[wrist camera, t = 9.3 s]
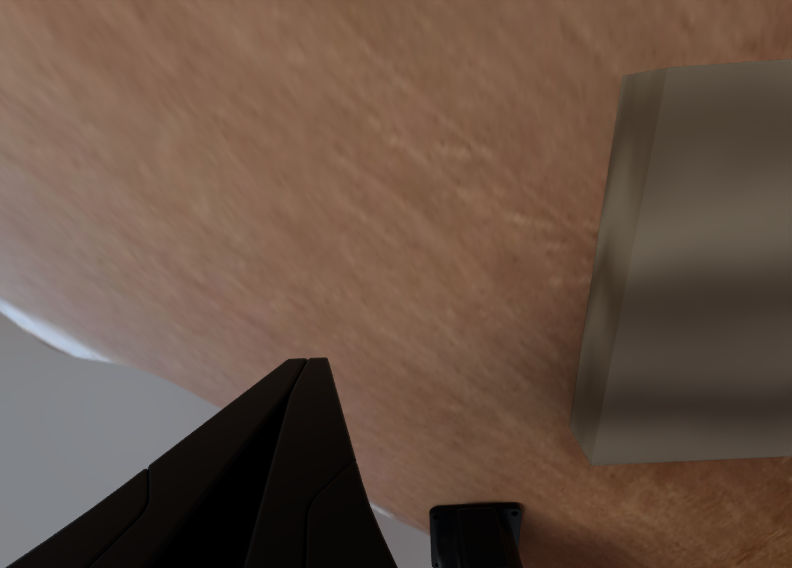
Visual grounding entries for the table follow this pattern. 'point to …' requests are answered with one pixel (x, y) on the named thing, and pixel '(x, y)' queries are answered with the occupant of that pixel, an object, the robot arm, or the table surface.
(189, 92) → the table surface
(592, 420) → the block
